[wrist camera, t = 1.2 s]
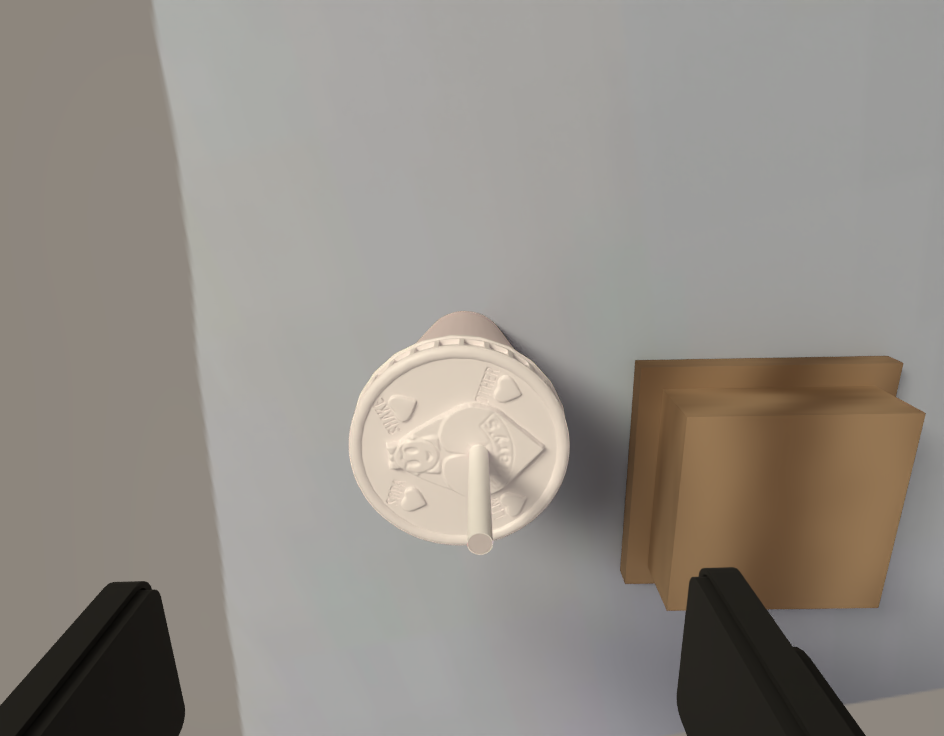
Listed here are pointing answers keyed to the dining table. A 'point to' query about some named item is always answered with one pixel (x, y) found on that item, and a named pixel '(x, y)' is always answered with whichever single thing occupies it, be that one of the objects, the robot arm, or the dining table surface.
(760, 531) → the pedestal
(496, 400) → the smoothie
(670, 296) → the dining table surface
